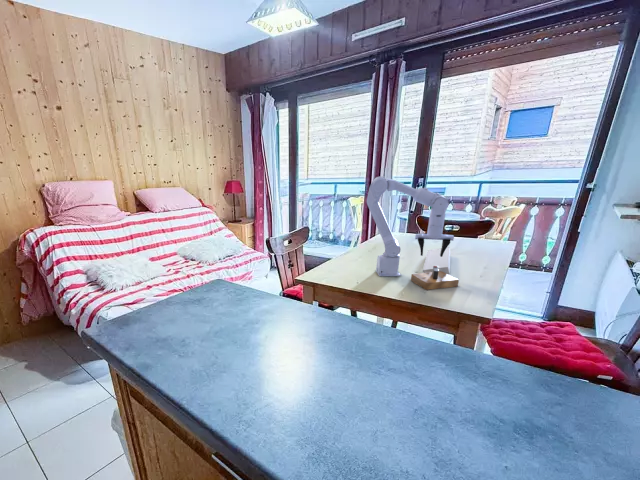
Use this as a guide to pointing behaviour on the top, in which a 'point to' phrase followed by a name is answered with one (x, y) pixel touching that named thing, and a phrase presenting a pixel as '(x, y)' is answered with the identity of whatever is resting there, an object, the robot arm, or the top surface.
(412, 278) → the panel
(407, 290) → the top surface
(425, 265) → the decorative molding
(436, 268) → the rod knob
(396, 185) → the robot arm
